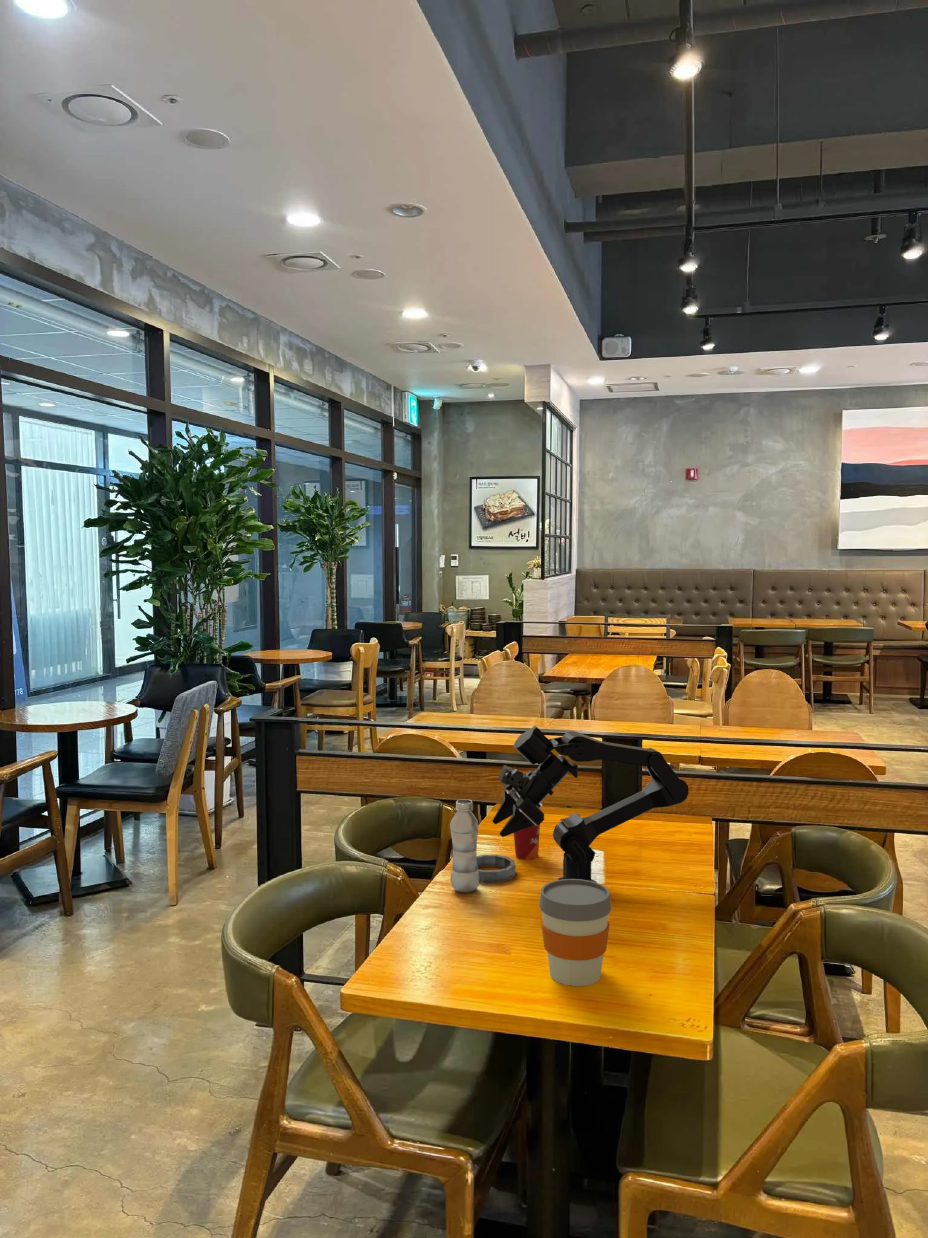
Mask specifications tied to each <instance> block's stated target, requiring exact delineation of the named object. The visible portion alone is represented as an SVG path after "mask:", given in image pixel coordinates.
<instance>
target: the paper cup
mask: <svg viewBox="0 0 928 1238" xmlns="http://www.w3.org/2000/svg"><path fill="white" fill-rule="evenodd" d="M539 804H540V805H541V807H540V809H541V810H542V807H543V804H542V801H541V802H540V803H539ZM533 823H534V822H533ZM534 824H535V823H534ZM540 829H541V824H540V825H539V826H538V825H537V824H535V826H534V827H533V826H531V827H528V828H525V829H523V830H520V831H517V832H515V833H513V840H514V841H513V842H514V853H515V857H516V858H517V859H520V860H527V861H529V860H535V859H537V858H538V856H539V849H540V848H539V847H540V845H539V844H540Z"/></svg>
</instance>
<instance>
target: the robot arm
mask: <svg viewBox="0 0 928 1238" xmlns="http://www.w3.org/2000/svg"><path fill="white" fill-rule="evenodd" d="M513 748H514V749H515V750H516V751H517V752H518V753H519V754H520V755H521V756H522V757H523V758H524V759H525V760H526V761H527V762H528V763H530V764H531V765H535V764H537V765H538V766H537V768H536V769H535V770H534V771H533V770H528V771H527V772H526V773H524V772H522V770H518V769H517V768H513V767H510V766H508V765H506V764H504V765H502V769H501V771H500V773H499V775H498V779H499V780H500V783H502V784H503V787H504V788H502V794H503V800H502V802H501V804H500V806H499V808H498V809H497V811H496V813H495V815H494V817H493V819H492V820H491V821H492V823H493V824H494V825H498V824H500V823H502V822H503V821H506V820H507V819H508V818H509V819H508V820H507V822H506V823H505V825H504V826H503V827H502V829H500V832H499V833H498V834H499V835H500V837H502V838H504V837H507V836H509V835H512V834H514V833H515V832H517V831H520V830H523V829H525V828H528V827H531V826H533V827H534V826H535V824H537V825H538V826H539V825H540V826H541V824H542V823H543V822H544V820H545V813H544V812H543V810H542V807H541V805H540V804H539V803H540V802H541V803H542V801H543V800H544V799H545V798H546V797H547V796H548V795H549V796H552V795H553V794H554V793H555V792H554V791H553V790H554V789H555V787H557V785H558V784H559V783H560V782H562V780H563V779H564V778H565V777H566V776H567V775H568V774H569V773H570V774H571V776H573V777H574V778H575V779H576V778H578V776H579V774H578V766H579V765H578V764H576V763H580V762H581V763H583V762H595V761H607V762H608V761H609V762H616V763H622V764H628V765H634V766H641V767H646V768H647V771H648V773H649V776H650V777H651V778H652V779H651V780H650V781H649V782H648V783H647V784H646V785H645V787H643V789H642V790H640V791H639V792H636V793H634V794H633V795H630V796H628V797H626V798H624V799H622V800H619V801H618V802H615V803H614V804H612V805H609V806H607V807H605V808H603V809H602V810H598V811H597V812H595V813H593V814H591V815H589V816H583V817H582V816H581V815H580V814H578V812H573V813H572V814H570V815H569V816H568V817H565V818H560V819H559V820H560V822H558V823H557V824H555V826H554V828H553V831H552V837H553V840H554V842H555V843H556V844H557V845H558V846H559V848H560V849H561V851H562V852H564V853H563V860H562V876H561V877H558V878H557V880H562V879H582V880H588V881H593V882H596V883H598V881H596V880H594V879H592V862H593V861H594V858H595V855H596V852H595V850H594V849H593V848H592V847H591V846H590V845H592V843H593V842H594V841H595V840H596V839H597V838H598V836H600V835H601V834H604V833H606V832H608V831H610V830H612V829H614V828H616V827H618V826H620V825H623V824H624V823H626V822H628V821H630V820H633V819H634V818H637V817H639V816H642V815H643V814H644V813H646V812H649V811H651V810H653V809H658V808H659V809H661V808H668V807H672V806H673V807H674V806H675V805H678V804H683V803H684V802H685V801H686V800H687V799H688V795H689V794H690V793H689V792H690V789H689V784H688V783H687V782H686V781H685V780H684V779H682V778H680V777H679V776H678V775H677V772H675V771H674V769H673V768H672V767H671V766H670V765H669V764H668V762H667V761H666V759H665V758H664V756H663V754H662V753H661V751H659V750H656V749H655V748H652V747H641V746H633V745H629V744H628V745H627V744H620V743H616V742H615V743H614V742H607V741H602V740H599V739H596V738H594V737H591V736H589V735H586V734H583V733H580V732H578V731H574V730H569V731H567V732H566V733H564V734H563V735H562V736H559V737H558V736H557V737H553V738H547V737H546V735H545V734H544V733H543V732H542V731H541V729H539V727H538V726H536V725H534V726H532V727H531V728H529V729H527V730H526V731H524V732H523V733H521V734H520V735H518V737H517V738H516V740H515V741H514V744H513ZM552 751H555V752H557V754H558V756H557V755H556V754H554V753H553V752H552ZM566 757H568V758H569V759H570V760H572V761H573V762H574V763H573V762H572V763H571V762H570V761H569V760H568V759H567V758H566ZM575 762H576V763H575ZM540 807H541V809H540ZM533 822H534V823H535V824H534V823H533Z"/></svg>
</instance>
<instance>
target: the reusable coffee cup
mask: <svg viewBox="0 0 928 1238" xmlns="http://www.w3.org/2000/svg"><path fill="white" fill-rule="evenodd" d="M596 882H597V881H596ZM596 882H593V881H588V880H582V879H562V880H558V879H557V880H554V881H553V880H552V881H550V882H547V883H546V884H544V885H543V886H541V889H540V895H539V896H540V897H539V904H538V906H539V909H540V911H541V915H542V918H541V920H540V924H541V925H540V926H541V933H542V940H543V947H544V950H545V951H546V953H547V954H546V955H547V962H548V967H549V969H548V970H549V975H550V978H552V980H554V981H555V982H556V983H559V984H561V983H563V984H562V985H564V986H569V985H572V986H571V987H586V985H587V986H591V985H593V984H595V983H597V982H598V981H600V979H601V974H602V968H603V961H604V954H605V953H606V952H607V946H608V941H609V939H608V938H609V933H610V925H611V924H610V921H609V914H610V913H611V911H612V905H611V904H612V903H611V894H610V890H609V889H608V888H607V887H606V886H605V885H603V884H601V883H598V882H597V883H596Z"/></svg>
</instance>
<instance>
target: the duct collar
mask: <svg viewBox="0 0 928 1238" xmlns="http://www.w3.org/2000/svg"><path fill="white" fill-rule="evenodd" d="M477 866H478V871H479V878H480V880H479V883H484V884H485V883H487V884H488V883H489V884H491V883H492V884H493V883H494V884H495V883H496V884H499V883H504V882H507V881H510V880H511V879H513V878H515V876H516V861H515V860H514V859H513V858H511V857H509V856H506V855H501V854H481V855H477ZM484 867H496V868H501V869H496V870H491V869H490V870H488V869H487V870H485V869H479V868H484Z"/></svg>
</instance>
